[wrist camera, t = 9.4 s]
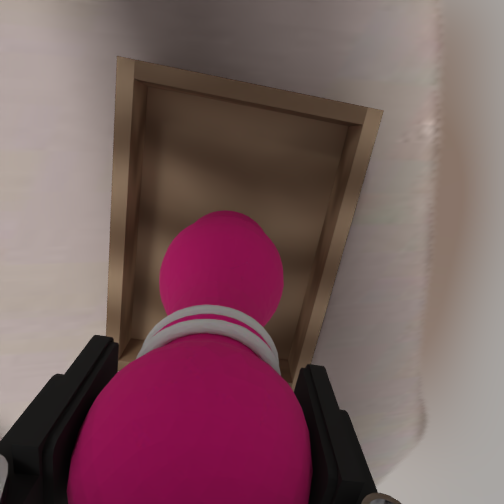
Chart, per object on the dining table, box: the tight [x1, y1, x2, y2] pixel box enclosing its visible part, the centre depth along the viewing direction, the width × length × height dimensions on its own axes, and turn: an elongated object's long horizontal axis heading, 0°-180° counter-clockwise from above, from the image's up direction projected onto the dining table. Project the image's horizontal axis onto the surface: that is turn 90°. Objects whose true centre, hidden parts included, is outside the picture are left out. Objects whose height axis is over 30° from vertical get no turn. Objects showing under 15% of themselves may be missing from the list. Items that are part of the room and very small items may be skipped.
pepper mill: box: [67, 210, 313, 504], centre depth 14 cm, size 7×7×20 cm
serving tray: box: [106, 56, 384, 392], centre depth 25 cm, size 22×16×4 cm
